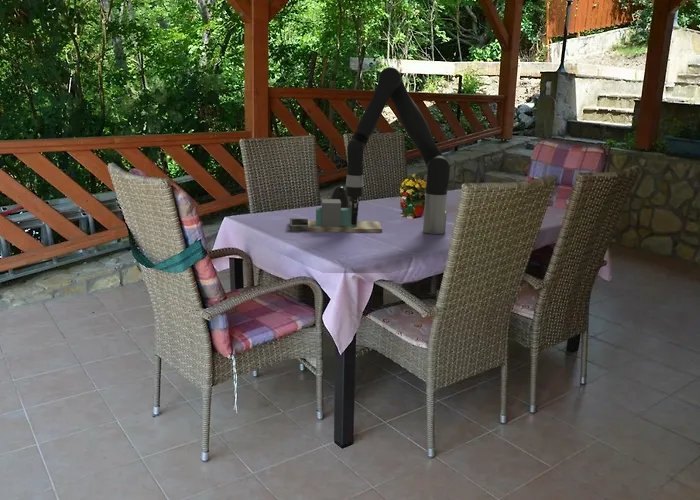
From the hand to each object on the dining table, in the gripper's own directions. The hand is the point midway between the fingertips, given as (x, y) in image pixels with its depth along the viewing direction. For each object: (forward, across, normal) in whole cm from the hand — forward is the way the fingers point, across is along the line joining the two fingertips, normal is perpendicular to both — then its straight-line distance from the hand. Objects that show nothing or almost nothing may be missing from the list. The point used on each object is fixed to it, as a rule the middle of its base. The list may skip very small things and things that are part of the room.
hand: (353, 222), depth 279 cm
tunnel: (+1, 0, +10) cm, 10 cm away
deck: (+2, 0, +8) cm, 8 cm away
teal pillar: (+1, 0, +8) cm, 8 cm away
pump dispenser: (+3, +20, +5) cm, 21 cm away
